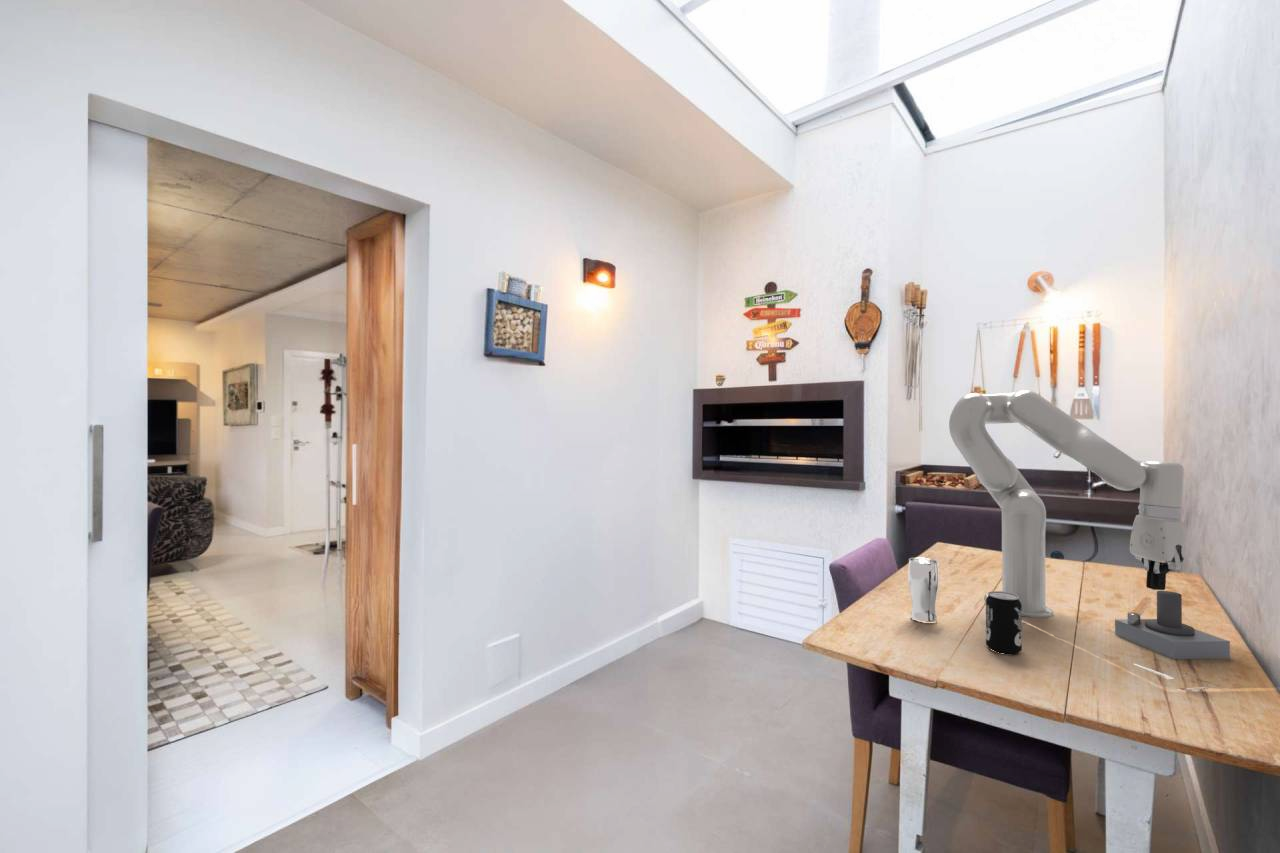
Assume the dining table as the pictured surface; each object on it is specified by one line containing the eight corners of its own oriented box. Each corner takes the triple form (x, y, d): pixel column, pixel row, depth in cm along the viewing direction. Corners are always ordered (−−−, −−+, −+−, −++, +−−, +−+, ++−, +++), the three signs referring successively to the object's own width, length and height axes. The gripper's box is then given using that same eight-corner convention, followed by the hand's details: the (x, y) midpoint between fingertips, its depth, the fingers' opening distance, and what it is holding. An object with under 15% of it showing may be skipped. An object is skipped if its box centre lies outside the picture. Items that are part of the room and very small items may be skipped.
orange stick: (1139, 626, 127) (1139, 616, 127) (1126, 623, 128) (1126, 613, 128) (1154, 607, 140) (1154, 598, 140) (1142, 605, 141) (1142, 596, 141)
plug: (1169, 653, 121) (1168, 598, 121) (1135, 639, 129) (1134, 588, 129) (1205, 652, 121) (1205, 598, 121) (1169, 638, 129) (1169, 588, 129)
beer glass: (909, 622, 142) (908, 562, 142) (907, 614, 148) (907, 556, 148) (940, 626, 139) (940, 564, 139) (937, 617, 146) (937, 558, 146)
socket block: (1173, 661, 118) (1173, 641, 118) (1115, 636, 132) (1115, 619, 132) (1229, 660, 118) (1229, 641, 118) (1165, 636, 132) (1165, 618, 132)
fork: (1108, 656, 123) (1108, 647, 123) (1213, 697, 103) (1213, 686, 103) (1095, 657, 122) (1094, 648, 122) (1198, 698, 102) (1197, 687, 102)
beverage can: (1010, 658, 120) (1010, 600, 120) (979, 647, 125) (979, 593, 125) (1028, 652, 123) (1028, 596, 123) (997, 642, 128) (997, 589, 128)
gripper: (1117, 507, 144) (1113, 579, 144) (1174, 517, 129) (1170, 598, 129) (1146, 508, 144) (1142, 580, 144) (1206, 518, 129) (1202, 599, 130)
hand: (1155, 588), depth 137 cm, fingers closed
